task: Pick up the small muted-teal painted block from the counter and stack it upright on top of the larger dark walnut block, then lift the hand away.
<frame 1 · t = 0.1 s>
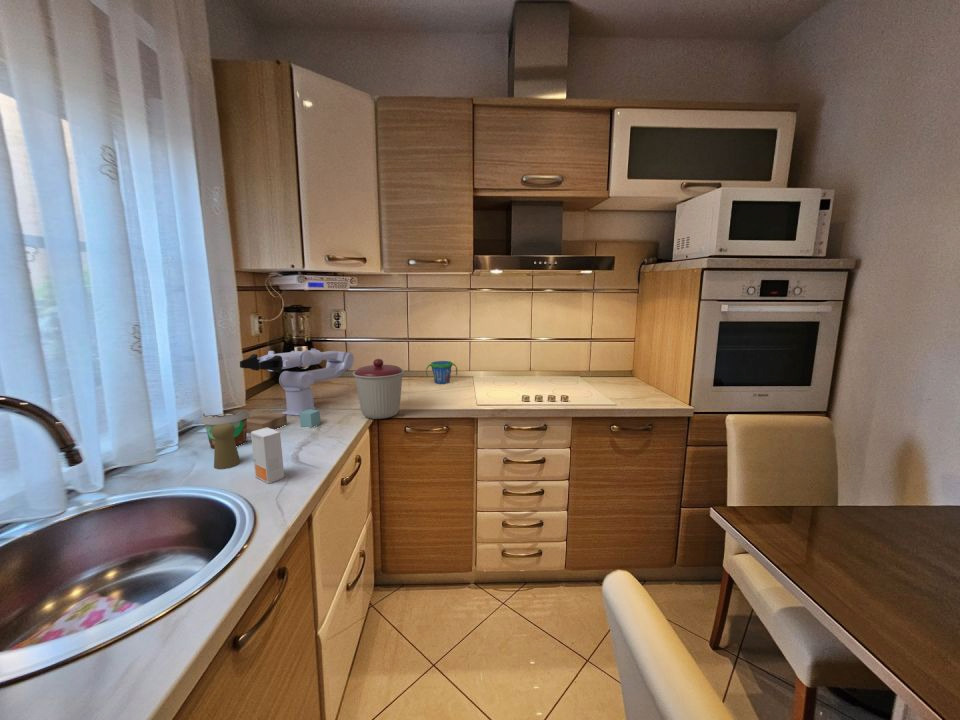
hand: (250, 365, 128), 22 cm above the countertop, tool horizontal, fingers open, 7 cm apart
teal block: (310, 425, 135), on the countertop
walnut block: (263, 429, 132), on the countertop
cork: (227, 464, 105), on the countertop
skincare box: (270, 478, 98), on the countertop
snack cup: (442, 383, 198), on the countertop
food container: (225, 447, 117), on the countertop
canister: (380, 415, 147), on the countertop
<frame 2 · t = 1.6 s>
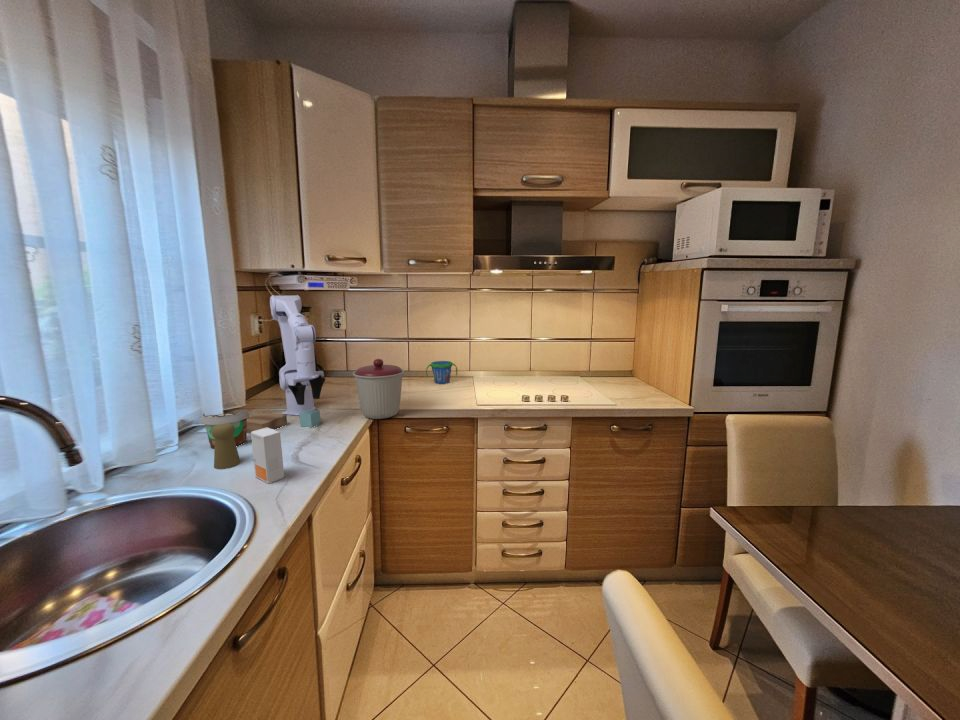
hand: (308, 401, 134), 8 cm above the countertop, tool pointing down, fingers open, 7 cm apart
nothing on the countertop moved.
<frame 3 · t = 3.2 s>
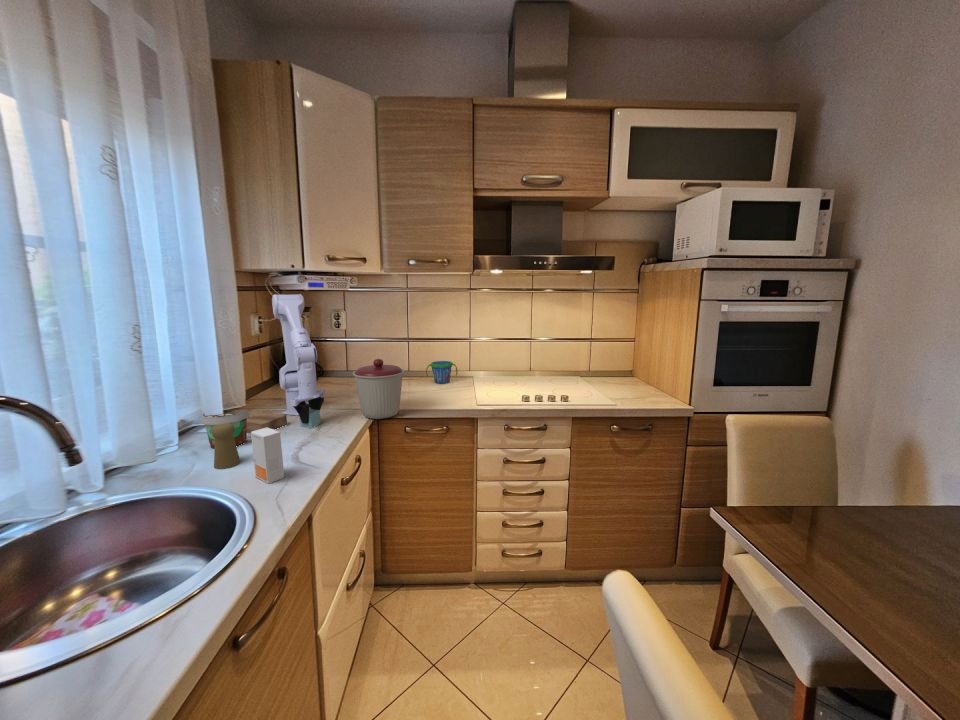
hand: (310, 420, 135), 2 cm above the countertop, tool pointing down, fingers closed on teal block, 4 cm apart
teal block: (310, 425, 135), on the countertop, touching gripper
everything else where it was.
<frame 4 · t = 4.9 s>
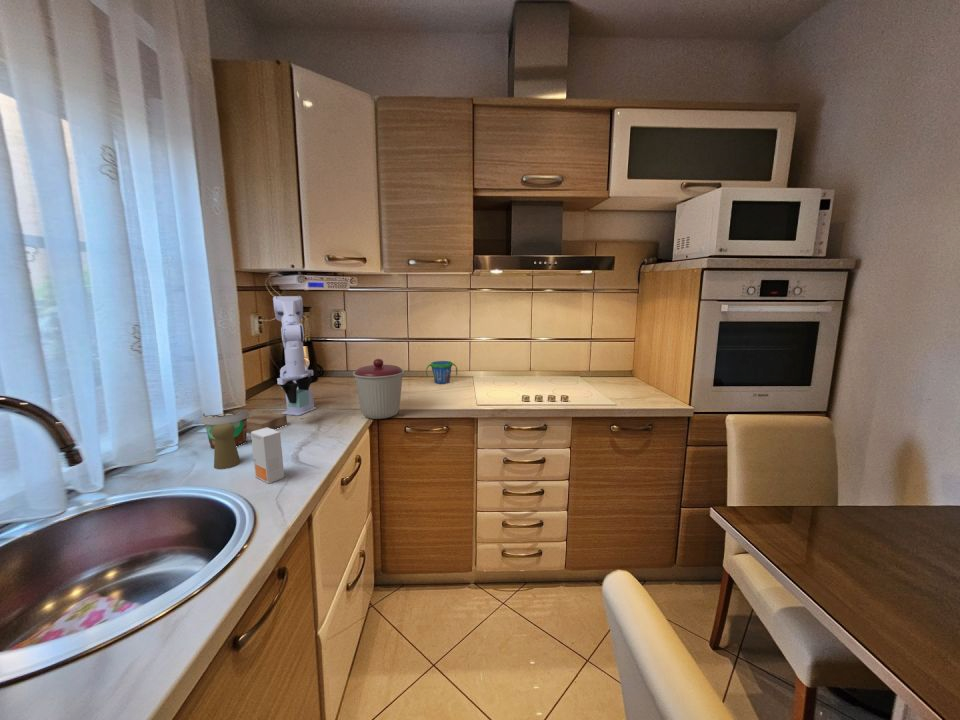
hand: (298, 400, 133), 9 cm above the countertop, tool pointing down, fingers closed on teal block, 4 cm apart
teal block: (298, 405, 133), point 7 cm above the countertop, touching gripper
everything else where it was.
when the fingers open (7 cm above the countertop, at t = 6.8 s): teal block drops 1 cm, point 4 cm above the countertop.
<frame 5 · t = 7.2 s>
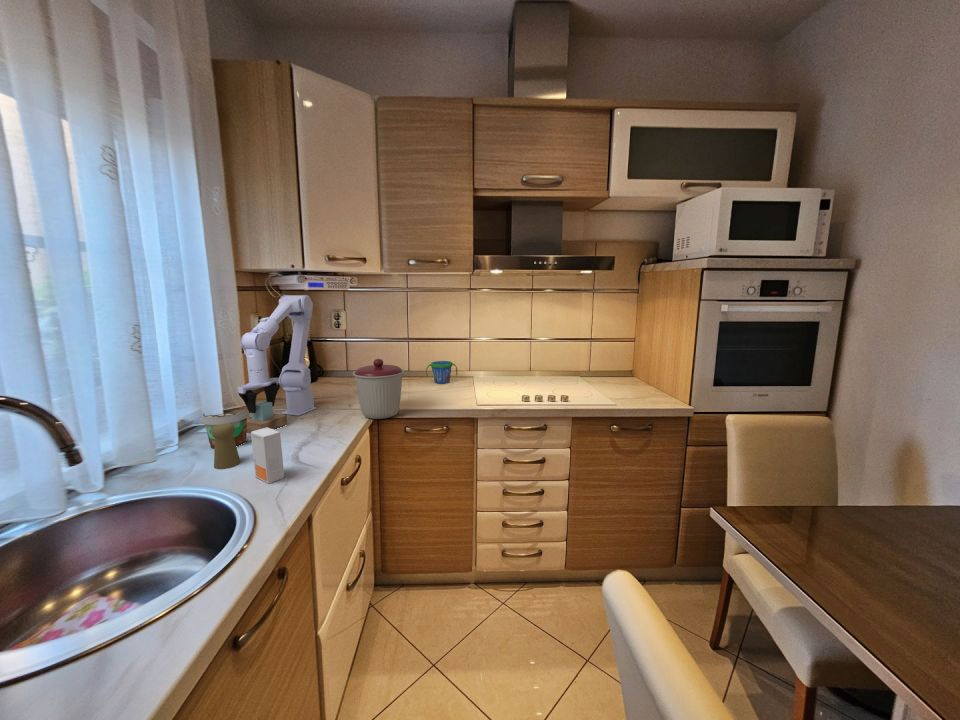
hand: (261, 409, 131), 7 cm above the countertop, tool pointing down, fingers open, 7 cm apart
teal block: (262, 418, 132), point 4 cm above the countertop
everything else where it was.
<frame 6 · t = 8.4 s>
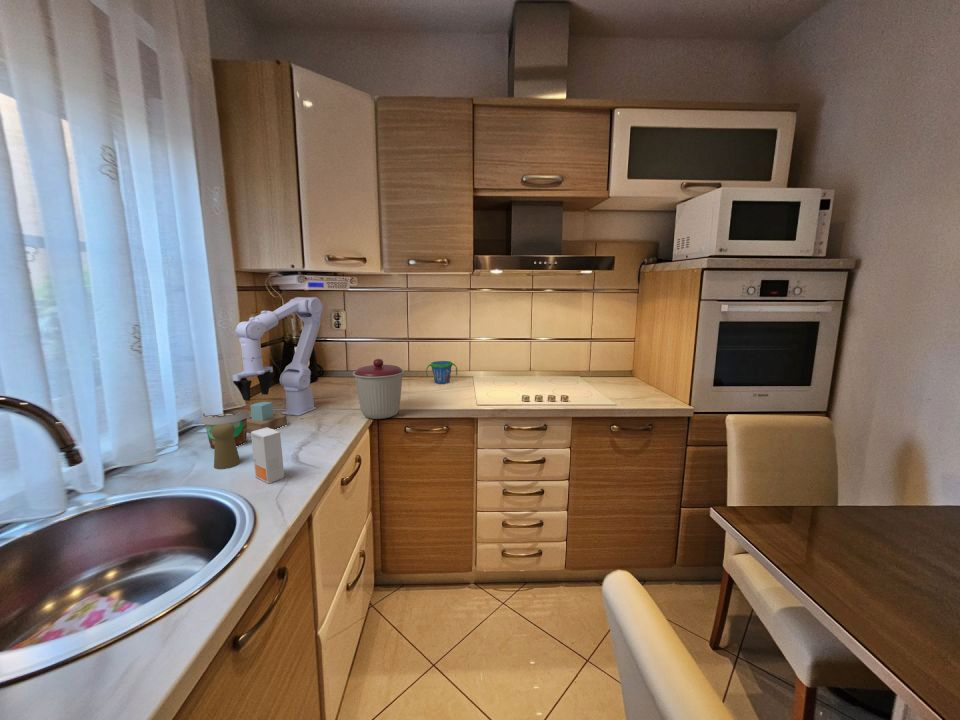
hand: (256, 397, 134), 10 cm above the countertop, tool pointing down, fingers open, 7 cm apart
teal block: (262, 418, 132), point 4 cm above the countertop, touching walnut block
walnut block: (263, 429, 133), on the countertop, touching teal block
everything else where it was.
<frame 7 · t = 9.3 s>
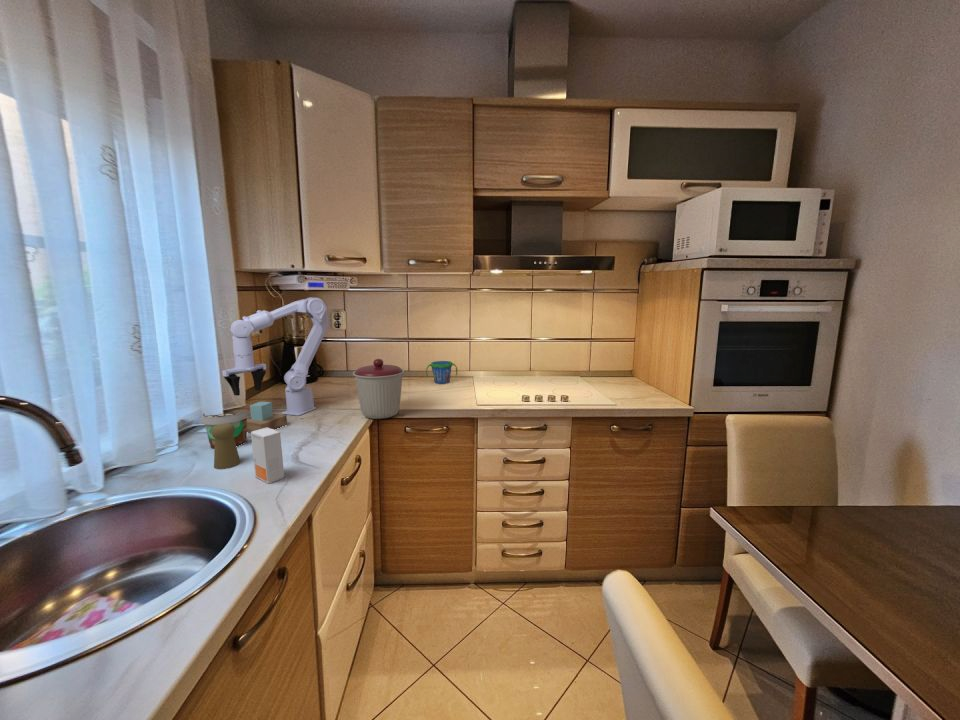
hand: (247, 392, 140), 10 cm above the countertop, tool pointing down, fingers open, 7 cm apart
nothing on the countertop moved.
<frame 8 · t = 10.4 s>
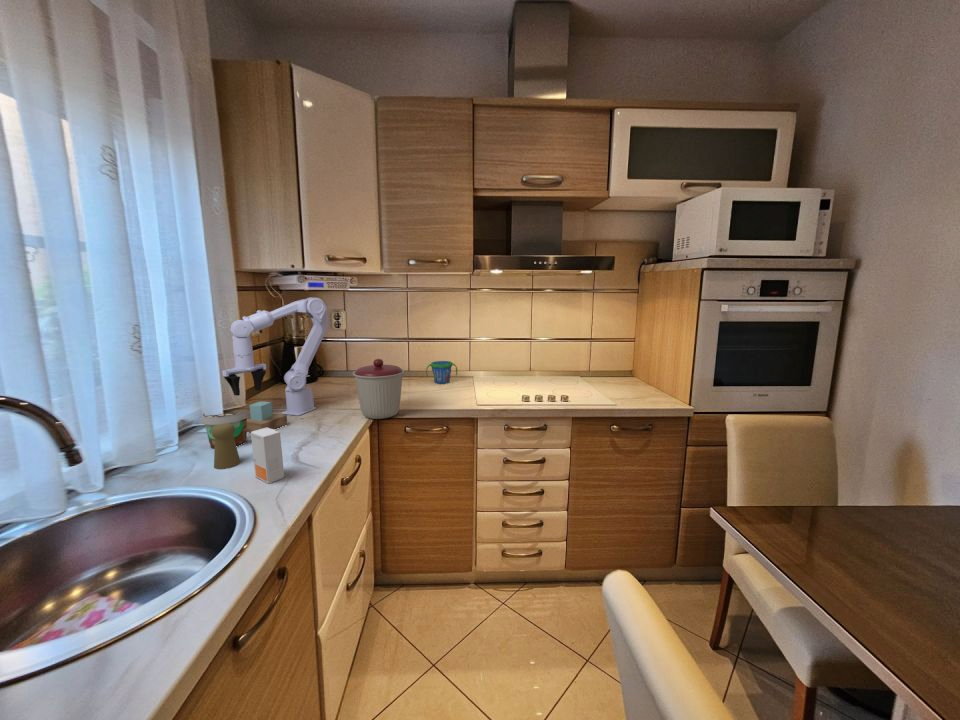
hand: (247, 392, 140), 10 cm above the countertop, tool pointing down, fingers open, 7 cm apart
nothing on the countertop moved.
at the end: teal block 0.3 cm off-centre on the walnut block, point 4.0 cm above the walnut block's base; teal block tilted 0°; the gripper is holding nothing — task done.
